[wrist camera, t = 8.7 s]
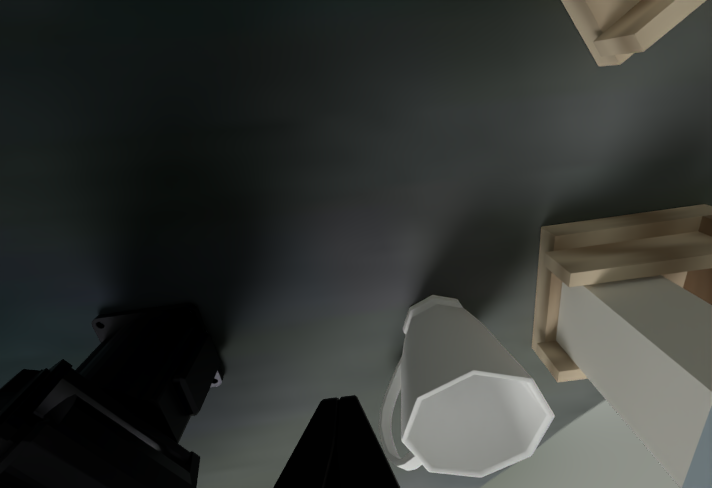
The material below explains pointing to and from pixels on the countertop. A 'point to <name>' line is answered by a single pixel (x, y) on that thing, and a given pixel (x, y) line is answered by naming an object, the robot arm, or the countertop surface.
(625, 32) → the guide
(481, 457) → the cup
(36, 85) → the countertop surface
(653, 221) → the guide
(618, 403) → the button
